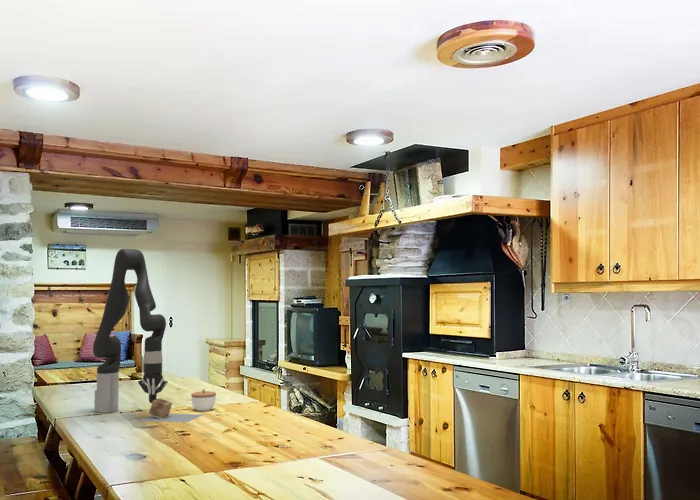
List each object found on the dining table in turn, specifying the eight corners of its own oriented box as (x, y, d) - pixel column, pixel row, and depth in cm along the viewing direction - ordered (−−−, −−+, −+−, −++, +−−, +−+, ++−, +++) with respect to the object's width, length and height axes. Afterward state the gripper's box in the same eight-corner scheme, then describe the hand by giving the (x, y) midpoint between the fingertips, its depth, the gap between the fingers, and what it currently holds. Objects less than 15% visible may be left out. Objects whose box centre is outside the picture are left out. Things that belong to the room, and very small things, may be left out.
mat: (137, 421, 269) (137, 420, 269) (156, 414, 285) (156, 413, 285) (187, 423, 265) (187, 422, 265) (203, 415, 281) (203, 414, 281)
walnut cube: (148, 414, 274) (152, 400, 274) (155, 411, 280) (159, 397, 280) (161, 418, 273) (165, 405, 273) (168, 416, 279) (172, 402, 279)
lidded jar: (218, 408, 297) (218, 387, 298) (211, 413, 287) (211, 391, 287) (195, 408, 298) (195, 387, 299) (187, 413, 288) (187, 391, 288)
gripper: (134, 362, 276) (133, 404, 275) (163, 363, 273) (162, 405, 272) (143, 360, 283) (142, 401, 282) (171, 361, 280) (171, 401, 279)
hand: (152, 403), depth 277 cm, fingers closed
